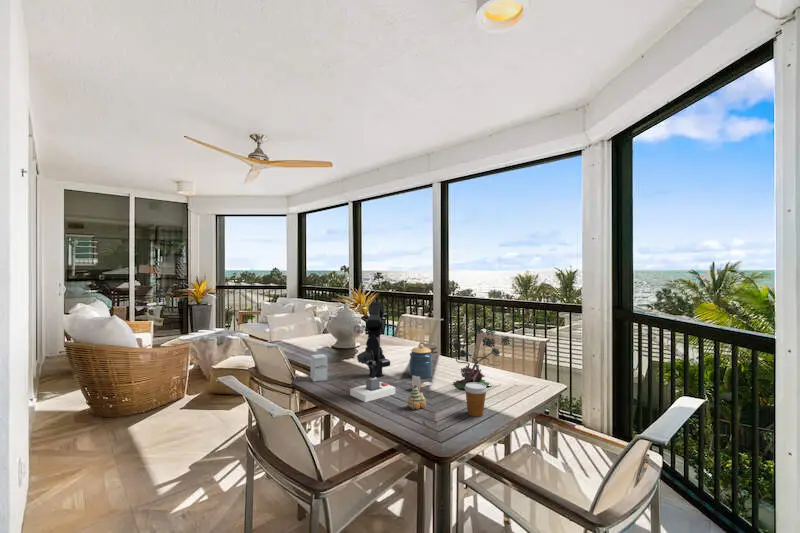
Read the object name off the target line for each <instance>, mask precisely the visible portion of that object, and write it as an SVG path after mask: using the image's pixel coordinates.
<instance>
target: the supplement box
mask: <svg viewBox="0 0 800 533" xmlns="http://www.w3.org/2000/svg"><path fill="white" fill-rule="evenodd" d="M328 359H329V358H328V356H327V355H326V354H323V353H322V354H310V379H311V380H312V381H313V382H321V381H327V380H328Z"/></svg>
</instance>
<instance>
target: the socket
mask: <svg viewBox="0 0 800 533" xmlns="http://www.w3.org/2000/svg"><path fill="white" fill-rule="evenodd" d="M349 390H350V391H349V395H350V396H351V397H353V398H356V399H358V400H360V401H362V402H364V403H367V402H371V401H374V400H378V399H381V398H385V397H388V396H389V397H390V396H392V395H396V387H395V386H393V385H390V384H389V383H386V382H382V381H380V389H378V390H374V391H369V390H367V389H366V384H363V385H359V386H355V387H352V388H349Z"/></svg>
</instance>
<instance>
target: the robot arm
mask: <svg viewBox="0 0 800 533" xmlns="http://www.w3.org/2000/svg"><path fill="white" fill-rule="evenodd" d="M368 315H369V316H368V317H367V320H366V321H365V330H364V331H365V334H364V335H367V339H366V342H365V343H366V344H365V346H366V347H365V351H362V352H360V353H359V354H357V355H356V358H357V361H358V362H357V363H360V364H363V365H364V364H365V365H366V366H367V367H368V369H369V374H368V376H369V377H370V378H375V377H376V378H379V377H384V376H385V374H383V368H386V367H390V366H391V360H390V359H387V358H386V357H385V354H383V353H384V351H383V349H382V347H381V335H382V333H384V323H383V321H382V320H383V319H384V315H385V305H383V304H382V303H381V302H371V304H370V305H368Z"/></svg>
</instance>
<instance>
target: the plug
mask: <svg viewBox="0 0 800 533" xmlns="http://www.w3.org/2000/svg"><path fill="white" fill-rule="evenodd" d="M380 380H381V379H380V378H379V377H375V378H372V377H368V378H366V380H365V385H366V389H367V390H369V391H374V390H378V389H380V382H381V381H380Z"/></svg>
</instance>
